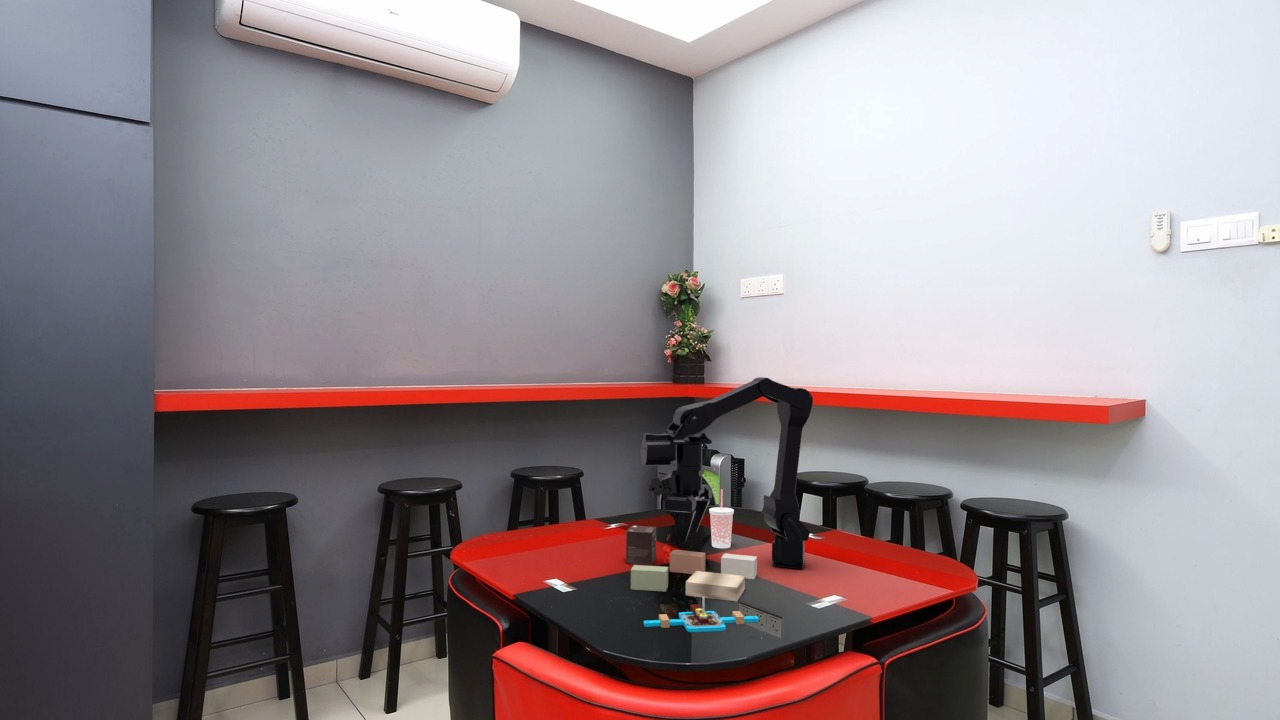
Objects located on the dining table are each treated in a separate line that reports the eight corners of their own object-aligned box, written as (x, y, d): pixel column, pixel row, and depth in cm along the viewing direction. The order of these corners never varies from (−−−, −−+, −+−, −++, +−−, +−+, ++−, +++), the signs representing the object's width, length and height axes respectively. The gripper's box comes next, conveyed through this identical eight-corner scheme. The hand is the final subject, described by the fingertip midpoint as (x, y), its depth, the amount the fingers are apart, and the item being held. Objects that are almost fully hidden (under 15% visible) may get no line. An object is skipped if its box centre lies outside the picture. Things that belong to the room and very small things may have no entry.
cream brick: (756, 575, 150) (756, 556, 150) (754, 580, 146) (754, 560, 146) (724, 572, 152) (724, 553, 152) (720, 576, 149) (721, 557, 149)
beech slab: (744, 591, 140) (745, 576, 140) (737, 603, 132) (737, 587, 132) (695, 585, 143) (696, 570, 143) (685, 597, 135) (685, 581, 135)
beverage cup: (735, 549, 171) (735, 491, 171) (709, 549, 171) (710, 491, 171) (732, 543, 177) (732, 487, 177) (707, 542, 177) (708, 487, 177)
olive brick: (668, 586, 141) (668, 566, 141) (665, 592, 138) (666, 571, 138) (633, 584, 142) (633, 564, 142) (630, 590, 139) (630, 569, 139)
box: (651, 565, 156) (652, 532, 156) (625, 563, 157) (625, 530, 157) (656, 558, 162) (657, 526, 162) (631, 556, 163) (631, 525, 163)
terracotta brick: (705, 571, 152) (705, 552, 152) (701, 575, 149) (701, 556, 149) (674, 568, 155) (674, 549, 155) (669, 572, 151) (669, 553, 151)
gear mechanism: (639, 617, 125) (647, 637, 115) (639, 586, 125) (648, 604, 115) (748, 612, 128) (765, 631, 118) (748, 582, 128) (765, 599, 118)
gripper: (665, 457, 164) (665, 525, 163) (639, 468, 146) (639, 543, 146) (712, 460, 160) (712, 529, 160) (691, 471, 142) (691, 548, 142)
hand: (688, 537), depth 152 cm, fingers open, 9 cm apart
